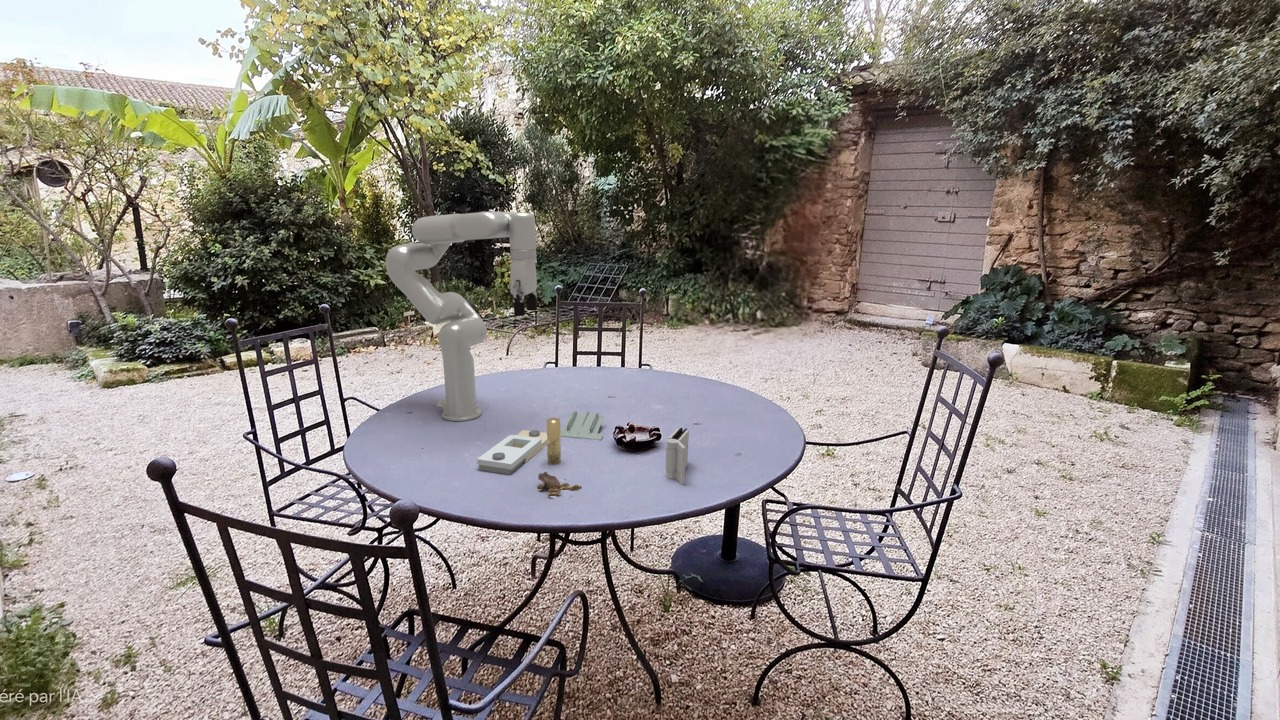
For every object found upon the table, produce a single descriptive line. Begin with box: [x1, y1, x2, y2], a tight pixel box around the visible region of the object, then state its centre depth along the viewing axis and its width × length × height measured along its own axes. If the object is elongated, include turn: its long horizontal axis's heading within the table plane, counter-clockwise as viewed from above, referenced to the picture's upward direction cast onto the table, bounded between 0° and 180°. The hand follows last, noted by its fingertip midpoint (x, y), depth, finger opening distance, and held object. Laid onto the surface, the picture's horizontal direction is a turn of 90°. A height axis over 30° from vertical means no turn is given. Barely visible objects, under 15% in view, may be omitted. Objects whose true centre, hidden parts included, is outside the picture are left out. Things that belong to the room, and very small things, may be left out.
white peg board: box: [476, 429, 547, 475], centre depth 165 cm, size 26×10×4 cm, turn 164°
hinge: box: [665, 427, 690, 486], centre depth 154 cm, size 14×5×10 cm, turn 172°
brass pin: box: [546, 417, 562, 465], centre depth 159 cm, size 4×4×12 cm
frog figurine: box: [536, 471, 583, 497], centre depth 144 cm, size 12×12×4 cm
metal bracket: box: [560, 410, 605, 442], centre depth 182 cm, size 14×6×15 cm
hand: (525, 312), depth 177 cm, fingers open, 9 cm apart
